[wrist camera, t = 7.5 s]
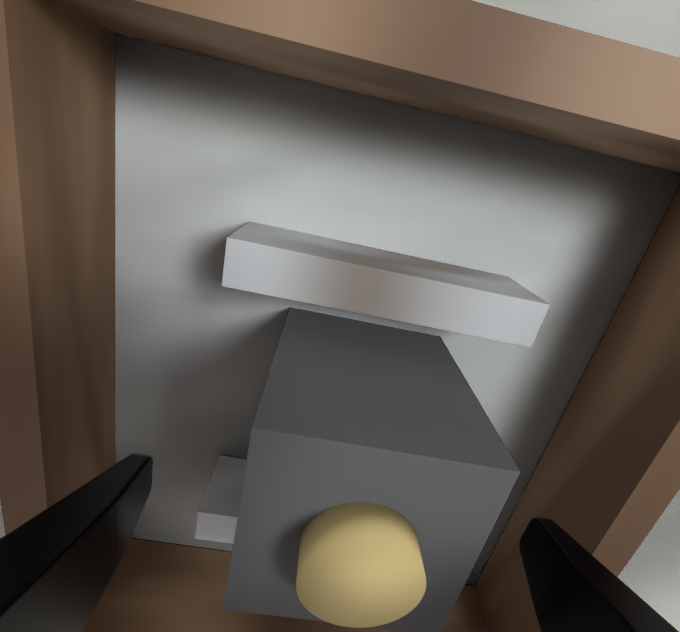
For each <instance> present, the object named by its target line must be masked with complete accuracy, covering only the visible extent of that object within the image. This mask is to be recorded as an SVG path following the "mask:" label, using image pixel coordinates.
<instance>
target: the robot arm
mask: <svg viewBox="0 0 680 632" xmlns="http://www.w3.org/2000/svg"><path fill="white" fill-rule="evenodd" d="M152 468H153V459H152V457H151V456H149V455H143V454H136V453H135V454H131V455H129V456H128V457H126V458H125V459H123V460H121V461H120V462H118V463H117V464H115V465H114V466H112V467H111V468H109V469H107V470H106V471H104V472H103V473H101V474H100V475H98V476H97V477H95V478H93V479H92V480H90V481H89V482H87V483H86V484H84V485H83V486H81V487H79V488H78V489H76V490H75V491H73V492H72V493H70V494H69V495H67V496H65V497H64V498H62V499H61V500H59V501H58V502H56V503H55V504H53V505H51V506H50V507H48V508H47V509H45V510H44V511H42V512H41V513H39V514H37V515H36V516H34V517H33V518H31V519H30V520H28V521H27V522H25V523H24V524H22V525H20V526H19V527H17V528H16V529H14V530H13V531H11V532H10V533H8V534H6V535H5V536H3V537H2V538H0V632H82V630H83V628H84V627H85V625H86V623H87V621H88V619H89V618H90V616H91V614H92V612H93V610H94V609H95V607H96V605H97V603H98V601H99V600H100V598H101V596H102V594H103V592H104V591H105V589H106V587H107V585H108V583H109V582H110V580H111V578H112V576H113V574H114V572H115V570H116V568H117V567H118V564H119V562H120V560H121V558H122V556H123V553H124V551H125V549H126V546H127V544H128V542H129V540H130V537H131V535H132V533H133V530H134V528H135V526H136V523H137V521H138V519H139V516H140V514H141V512H142V510H143V507H144V505H145V503H146V500H147V498H148V496H149V493H150V490H151V485H152ZM519 551H520V555H521V559H522V563H523V567H524V570H525V574H526V578H527V582H528V586H529V590H530V594H531V598H532V602H533V606H534V610H535V613H536V617H537V620H538V623H539V626H540V630H541V632H678V631H677V630H676V629H675V628H674V627H673V626H672V625H671V624H669V623H668V622H667V621H666V620H665V619H664V618H663V617H662V616H660V615H659V614H658V613H657V612H656V611H655V610H654V609H652V608H651V607H650V606H649V605H648V604H647V603H646V602H645V601H643V600H642V599H641V598H640V597H639V596H638V595H637V594H636V593H634V592H633V591H632V590H631V589H630V588H629V587H628V586H626V585H625V584H624V583H623V582H622V581H621V580H620V579H619V578H617V577H616V576H615V575H614V574H613V573H612V572H611V571H610V570H608V569H607V568H606V567H605V566H604V565H603V564H602V563H600V562H599V561H598V560H597V559H596V558H595V557H594V556H593V555H591V554H590V553H589V552H588V551H587V550H586V549H585V548H584V547H582V546H581V545H580V544H579V543H578V542H577V541H576V540H574V539H573V538H572V537H571V536H570V535H569V534H568V533H567V532H565V531H564V530H563V529H562V528H561V527H560V526H559V525H557V524H556V523H555V522H554V521H553V520H551V519H549V518H544V517H537V516H534V517H532V518H531V519H530V521H529V523H528V524H527V526H526V528H525V530H524V532H523V534H522V536H521V538H520V540H519Z"/></svg>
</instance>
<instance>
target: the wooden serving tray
mask: <svg viewBox="0 0 680 632" xmlns="http://www.w3.org/2000/svg"><path fill="white" fill-rule="evenodd" d="M115 33H117V34H122V35H126V36H130V37H134V38H138V39H142V40H146V41H150V42H154V43H158V44H162V45H166V46H170V47H174V48H178V49H182V50H186V51H190V52H194V53H198V54H202V55H206V56H210V57H214V58H218V59H222V60H226V61H230V62H234V63H238V64H243V65H247V66H251V67H255V68H259V69H263V70H267V71H271V72H275V73H279V74H283V75H287V76H291V77H295V78H299V79H303V80H307V81H311V82H315V83H319V84H323V85H327V86H331V87H335V88H339V89H343V90H347V91H351V92H355V93H359V94H364V95H368V96H372V97H376V98H380V99H384V100H388V101H392V102H396V103H400V104H404V105H408V106H412V107H416V108H420V109H424V110H428V111H432V112H436V113H440V114H444V115H448V116H452V117H456V118H460V119H464V120H468V121H472V122H476V123H481V124H485V125H489V126H493V127H497V128H501V129H505V130H509V131H513V132H517V133H521V134H525V135H529V136H533V137H537V138H541V139H545V140H549V141H553V142H557V143H561V144H565V145H569V146H573V147H577V148H581V149H585V150H589V151H593V152H597V153H602V154H606V155H610V156H614V157H618V158H622V159H626V160H630V161H634V162H638V163H642V164H646V165H650V166H654V167H658V168H662V169H666V170H670V171H674V172H678V173H680V58H678V57H674V56H671V55H667V54H663V53H660V52H656V51H653V50H649V49H645V48H642V47H638V46H634V45H631V44H627V43H624V42H620V41H616V40H613V39H609V38H605V37H602V36H598V35H595V34H591V33H587V32H584V31H580V30H576V29H573V28H569V27H566V26H562V25H558V24H555V23H551V22H548V21H544V20H540V19H537V18H533V17H529V16H526V15H522V14H519V13H515V12H511V11H508V10H504V9H500V8H497V7H493V6H490V5H486V4H482V3H479V2H475V1H472V0H0V498H1V505H2V512H3V519H4V526H5V533H6V534H8V533H10V532H11V531H13V530H14V529H16V528H17V527H19V526H20V525H22V524H24V523H25V522H27V521H28V520H30V519H31V518H33V517H34V516H36V515H37V514H39V513H41V512H42V511H44V510H45V509H47V508H48V507H50V506H51V505H53V504H55V503H56V502H58V501H59V500H61V499H62V498H64V497H65V496H67V495H69V494H70V493H72V492H73V491H75V490H76V489H78V488H79V487H81V486H83V485H84V484H86V483H87V482H89V481H90V480H92V479H93V478H95V477H97V476H98V475H100V474H101V473H103V472H104V471H106V470H107V469H109V468H111V467H112V466H114V465H115ZM222 286H224V287H229V288H234V289H239V290H244V291H249V292H254V293H259V294H264V295H269V296H274V297H279V298H284V299H289V300H294V301H300V302H305V303H310V304H315V305H320V306H325V307H330V308H335V309H340V310H345V311H350V312H355V313H360V314H365V315H370V316H375V317H380V318H386V319H391V320H396V321H401V322H406V323H411V324H416V325H421V326H426V327H431V328H436V329H441V330H446V331H451V332H456V333H461V334H466V335H472V336H477V337H482V338H487V339H492V340H497V341H502V342H507V343H512V344H517V345H522V346H527V347H532V345H533V342H534V340H535V338H536V336H537V333H538V331H539V329H540V326H541V324H542V322H543V320H544V317H545V315H546V313H547V311H548V308H549V306H550V304H548V303H547V302H545V301H544V300H542V299H541V298H539V297H538V296H536V295H535V294H533V293H532V292H530V291H529V290H527V289H526V288H524V287H523V286H521V285H520V284H518V283H517V282H515V281H514V280H512V279H511V278H509V277H507V276H502V275H497V274H492V273H488V272H483V271H478V270H474V269H469V268H464V267H460V266H455V265H450V264H446V263H441V262H436V261H431V260H427V259H422V258H417V257H413V256H408V255H403V254H399V253H394V252H389V251H385V250H380V249H375V248H371V247H366V246H361V245H356V244H352V243H347V242H342V241H338V240H333V239H328V238H324V237H319V236H314V235H310V234H305V233H300V232H296V231H291V230H286V229H281V228H277V227H272V226H267V225H263V224H258V223H253V222H248V223H247V224H245V225H244V226H242V227H241V228H240V229H238V230H237V231H235V232H234V233H232V234H231V235H229V236H228V237H227V240H226V250H225V259H224V269H223V278H222ZM246 461H247V459H241V458H235V457H229V456H222V455H220V456H219V459H218V461H217V464H216V466H215V469H214V472H213V474H212V477H211V479H210V482H209V484H208V487H207V489H206V492H205V494H204V497H203V499H202V502H201V504H200V507H199V509H198V513H197V522H196V531H195V539H201V540H208V541H215V542H222V543H229V544H233V543H234V537H235V531H236V524H237V518H238V512H239V505H240V499H241V492H242V486H243V480H244V473H245V467H246ZM679 489H680V187H679V189H678V191H677V193H676V195H675V197H674V199H673V201H672V203H671V205H670V207H669V209H668V211H667V213H666V215H665V216H664V218H663V220H662V222H661V224H660V226H659V228H658V230H657V232H656V234H655V236H654V238H653V240H652V242H651V244H650V246H649V248H648V250H647V252H646V254H645V256H644V258H643V259H642V261H641V263H640V265H639V267H638V269H637V271H636V273H635V275H634V277H633V279H632V281H631V283H630V285H629V287H628V289H627V291H626V293H625V295H624V297H623V299H622V301H621V302H620V304H619V306H618V308H617V310H616V312H615V314H614V316H613V318H612V320H611V322H610V324H609V326H608V328H607V330H606V332H605V334H604V336H603V338H602V340H601V342H600V344H599V345H598V347H597V349H596V351H595V353H594V355H593V357H592V359H591V361H590V363H589V365H588V367H587V369H586V371H585V373H584V375H583V377H582V379H581V381H580V383H579V385H578V387H577V388H576V390H575V392H574V394H573V396H572V398H571V400H570V402H569V404H568V406H567V408H566V410H565V412H564V414H563V416H562V418H561V420H560V422H559V424H558V426H557V428H556V430H555V431H554V433H553V435H552V437H551V439H550V441H549V443H548V445H547V447H546V449H545V451H544V453H543V455H542V457H541V459H540V461H539V463H538V465H537V467H536V469H535V471H534V473H533V474H532V476H531V478H530V480H529V482H528V484H527V486H526V488H525V490H524V492H523V494H522V496H521V498H520V500H519V502H518V504H517V506H516V508H515V510H514V512H513V514H512V516H511V518H510V519H509V521H508V523H507V525H506V527H505V529H504V531H503V533H502V535H501V537H500V539H499V541H498V543H497V545H496V547H495V549H494V551H493V553H492V555H491V557H490V559H489V561H488V562H487V564H486V566H485V568H484V570H483V572H482V574H481V576H480V578H479V580H478V582H477V584H476V586H470V585H464V587H463V589H462V591H461V593H460V595H459V597H458V599H457V601H456V603H455V605H454V607H453V609H452V611H451V613H450V615H449V617H448V619H447V621H446V623H445V626H444V628H443V630H442V632H541V630H540V626H539V623H538V620H537V617H536V613H535V610H534V606H533V602H532V598H531V594H530V590H529V586H528V582H527V578H526V574H525V570H524V567H523V563H522V559H521V555H520V551H519V540H520V538H521V536H522V534H523V532H524V530H525V528H526V526H527V524H528V523H529V521H530V519H531V518H532V517H534V516H537V517H544V518H549V519H551V520H553V521H554V522H555V523H556V524H557V525H559V526H560V527H561V528H562V529H563V530H564V531H565V532H567V533H568V534H569V535H570V536H571V537H572V538H573V539H574V540H576V541H577V542H578V543H579V544H580V545H581V546H582V547H584V548H585V549H586V550H587V551H588V552H589V553H590V554H591V555H593V556H594V557H595V558H596V559H597V560H598V561H599V562H600V563H602V564H603V565H604V566H605V567H606V568H607V569H608V570H610V571H611V572H612V573H613V574H614V575H615V576H616V577H618V575H619V574H620V573H621V571H622V570H623V568H624V567H625V566H626V564H627V563H628V561H629V560H630V558H631V557H632V556H633V554H634V553H635V551H636V550H637V548H638V547H639V546H640V544H641V543H642V541H643V540H644V539H645V537H646V536H647V534H648V533H649V531H650V530H651V529H652V527H653V526H654V524H655V523H656V521H657V520H658V519H659V517H660V516H661V514H662V513H663V512H664V510H665V509H666V507H667V506H668V504H669V503H670V502H671V500H672V499H673V497H674V496H675V494H676V493H677V492H678V490H679ZM231 556H232V552H225V551H218V550H211V549H204V548H196V547H189V546H182V545H175V544H168V543H160V542H153V541H146V540H139V539H132V538H130V540H129V542H128V544H127V546H126V549H125V551H124V553H123V556H122V558H121V560H120V562H119V564H118V567H117V568H116V570H115V572H114V574H113V576H112V578H111V580H110V582H109V583H108V585H107V587H106V589H105V591H104V592H103V594H102V596H101V598H100V600H99V601H98V603H97V605H96V607H95V609H94V610H93V612H92V614H91V616H90V618H89V619H88V621H87V623H86V625H85V627H84V628H83V630H82V632H402V631H394V630H386V629H378V628H370V627H366V628H352V627H344V626H338V625H335V624H331V623H328V622H321V621H313V620H305V619H297V618H289V617H281V616H273V615H265V614H257V613H249V612H241V611H233V610H225V609H223V607H224V600H225V594H226V588H227V581H228V575H229V569H230V562H231Z"/></svg>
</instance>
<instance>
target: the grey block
mask: <svg viewBox="0 0 680 632" xmlns="http://www.w3.org/2000/svg"><path fill="white" fill-rule="evenodd" d="M519 474H520V470H519V469H518V467H517V465H516V464H515V462H514V460H513V458H512V457H511V455H510V453H509V452H508V450H507V448H506V447H505V445H504V443H503V442H502V440H501V438H500V437H499V435H498V433H497V431H496V430H495V428H494V426H493V425H492V423H491V421H490V420H489V418H488V416H487V415H486V413H485V411H484V410H483V408H482V406H481V405H480V403H479V401H478V399H477V398H476V396H475V394H474V393H473V391H472V389H471V388H470V386H469V384H468V383H467V381H466V379H465V378H464V376H463V374H462V372H461V371H460V369H459V367H458V366H457V364H456V362H455V361H454V359H453V357H452V356H451V354H450V352H449V351H448V349H447V347H446V345H445V344H444V342H443V340H442V339H441V337H439V336H434V335H429V334H424V333H419V332H414V331H409V330H404V329H398V328H393V327H388V326H383V325H378V324H373V323H368V322H363V321H357V320H352V319H347V318H342V317H337V316H332V315H327V314H322V313H316V312H311V311H306V310H301V309H296V308H291V307H290V308H289V311H288V314H287V318H286V321H285V324H284V327H283V330H282V333H281V336H280V340H279V343H278V346H277V349H276V352H275V355H274V359H273V362H272V365H271V368H270V371H269V374H268V378H267V381H266V384H265V387H264V390H263V393H262V397H261V400H260V403H259V406H258V409H257V412H256V416H255V419H254V422H253V425H252V429H251V435H250V442H249V448H248V454H247V461H246V467H245V473H244V480H243V486H242V492H241V499H240V505H239V512H238V518H237V524H236V531H235V537H234V543H233V550H232V556H231V562H230V569H229V575H228V581H227V588H226V594H225V600H224V607H223V609H225V610H233V611H241V612H249V613H257V614H265V615H273V616H281V617H289V618H297V619H305V620H313V621H321V622H328V623H331V624H335V625H338V626H344V627H352V628H366V627H370V628H378V629H386V630H394V631H402V632H442V630H443V628H444V626H445V623H446V621H447V619H448V617H449V615H450V613H451V611H452V609H453V607H454V605H455V603H456V601H457V599H458V597H459V595H460V593H461V591H462V589H463V587H464V585H465V583H466V581H467V579H468V577H469V575H470V573H471V571H472V569H473V567H474V565H475V563H476V561H477V559H478V557H479V555H480V553H481V551H482V549H483V547H484V545H485V543H486V541H487V539H488V537H489V535H490V533H491V531H492V529H493V527H494V525H495V523H496V521H497V519H498V517H499V515H500V513H501V511H502V508H503V506H504V504H505V502H506V500H507V498H508V496H509V494H510V492H511V490H512V488H513V486H514V484H515V482H516V480H517V478H518V476H519Z"/></svg>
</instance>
